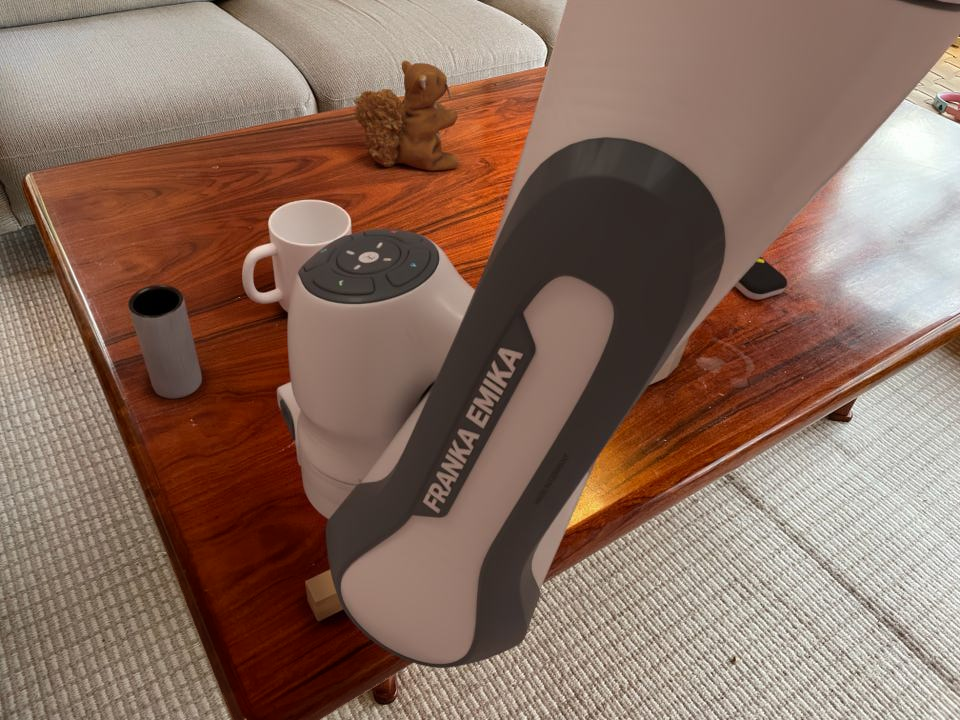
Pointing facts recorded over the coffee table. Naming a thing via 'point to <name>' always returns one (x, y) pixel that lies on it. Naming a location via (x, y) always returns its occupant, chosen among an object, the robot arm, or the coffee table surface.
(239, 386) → the coffee table surface
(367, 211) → the coffee table surface
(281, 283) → the cup
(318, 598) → the tan wooden bar
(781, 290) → the remote control
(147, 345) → the grey hollow cylinder
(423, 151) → the stuffed squirrel
